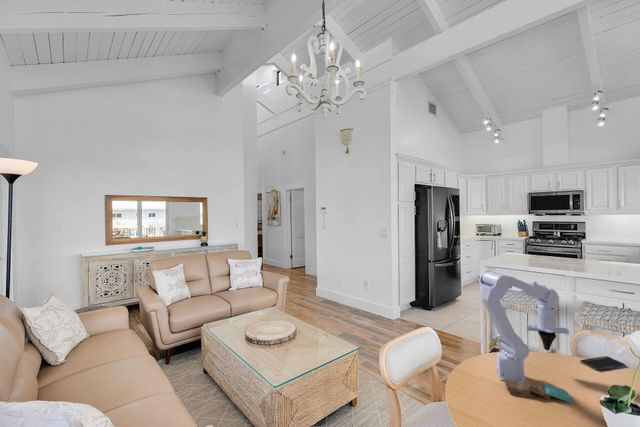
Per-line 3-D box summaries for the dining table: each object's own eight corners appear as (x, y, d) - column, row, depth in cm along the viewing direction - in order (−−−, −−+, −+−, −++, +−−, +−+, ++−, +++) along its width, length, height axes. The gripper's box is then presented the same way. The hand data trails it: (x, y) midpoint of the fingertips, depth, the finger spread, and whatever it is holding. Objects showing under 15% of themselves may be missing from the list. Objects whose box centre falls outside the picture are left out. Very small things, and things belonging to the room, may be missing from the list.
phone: (578, 360, 131) (606, 355, 133) (578, 362, 131) (606, 358, 134) (598, 370, 123) (627, 365, 126) (598, 372, 123) (627, 367, 126)
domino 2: (533, 399, 109) (511, 396, 111) (528, 391, 114) (507, 388, 115) (533, 395, 109) (511, 392, 111) (528, 387, 113) (507, 384, 115)
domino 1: (530, 395, 109) (507, 391, 112) (526, 387, 114) (505, 383, 116) (530, 390, 109) (507, 386, 111) (526, 382, 114) (504, 379, 116)
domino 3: (549, 400, 107) (528, 389, 109) (543, 391, 112) (523, 381, 114) (551, 396, 107) (530, 385, 109) (545, 387, 112) (525, 377, 114)
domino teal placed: (570, 402, 105) (547, 394, 107) (564, 394, 110) (542, 386, 112) (572, 398, 105) (549, 390, 107) (565, 390, 110) (543, 382, 112)
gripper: (528, 318, 122) (529, 351, 123) (572, 322, 118) (572, 356, 118) (523, 312, 129) (523, 343, 130) (564, 315, 124) (564, 347, 125)
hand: (546, 349), depth 124 cm, fingers closed
